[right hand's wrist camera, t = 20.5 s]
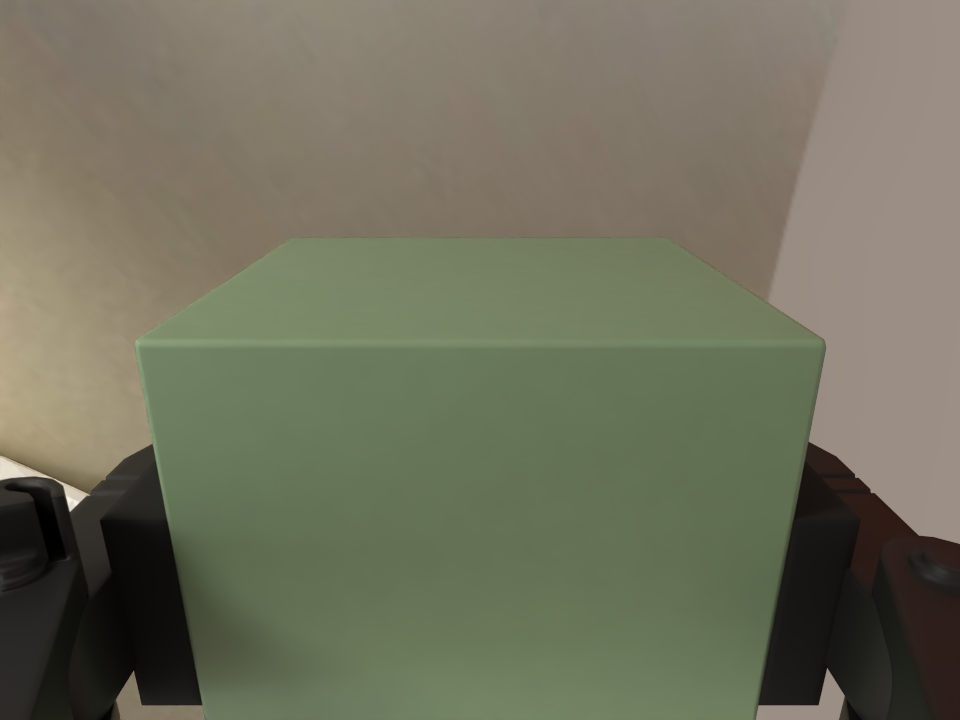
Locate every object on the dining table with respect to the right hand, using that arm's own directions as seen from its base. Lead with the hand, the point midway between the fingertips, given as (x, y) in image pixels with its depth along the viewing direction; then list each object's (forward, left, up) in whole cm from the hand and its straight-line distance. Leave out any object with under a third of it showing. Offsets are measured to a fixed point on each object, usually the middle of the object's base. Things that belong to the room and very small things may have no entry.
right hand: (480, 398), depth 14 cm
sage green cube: (0, 0, 0) cm, 0 cm away
